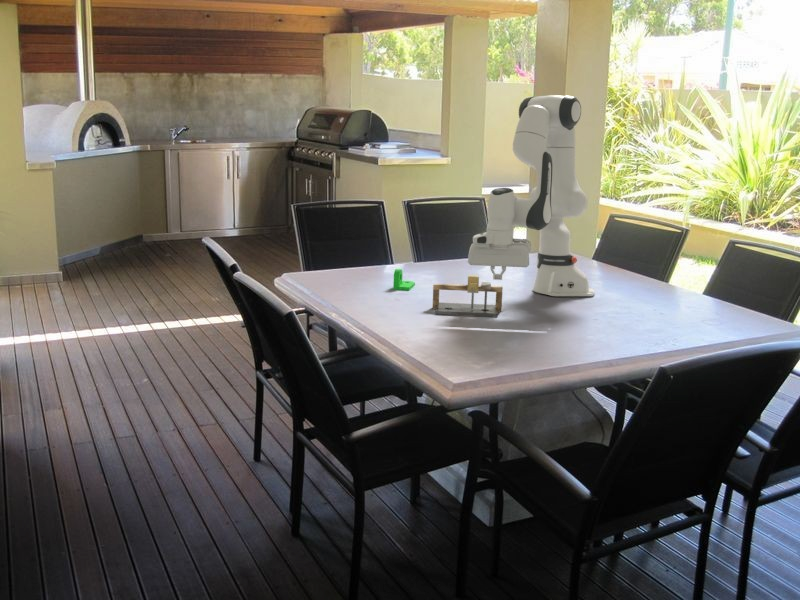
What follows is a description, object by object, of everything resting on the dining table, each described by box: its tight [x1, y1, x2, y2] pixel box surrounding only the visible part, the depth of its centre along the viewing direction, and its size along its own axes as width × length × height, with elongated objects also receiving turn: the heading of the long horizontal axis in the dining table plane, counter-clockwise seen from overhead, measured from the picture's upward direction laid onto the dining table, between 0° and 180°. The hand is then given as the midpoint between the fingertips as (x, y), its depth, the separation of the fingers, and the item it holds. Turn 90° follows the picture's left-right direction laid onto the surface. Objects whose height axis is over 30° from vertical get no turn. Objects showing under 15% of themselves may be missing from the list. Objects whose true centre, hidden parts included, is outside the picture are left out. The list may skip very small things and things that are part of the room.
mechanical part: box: [392, 268, 416, 291], centre depth 315 cm, size 12×6×8 cm, turn 166°
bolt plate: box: [435, 302, 499, 318], centre depth 281 cm, size 20×13×1 cm, turn 85°
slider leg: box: [466, 274, 480, 309], centre depth 280 cm, size 4×7×10 cm, turn 175°
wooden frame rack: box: [432, 281, 504, 312], centre depth 280 cm, size 23×6×9 cm, turn 85°
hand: (497, 279), depth 280 cm, fingers closed
